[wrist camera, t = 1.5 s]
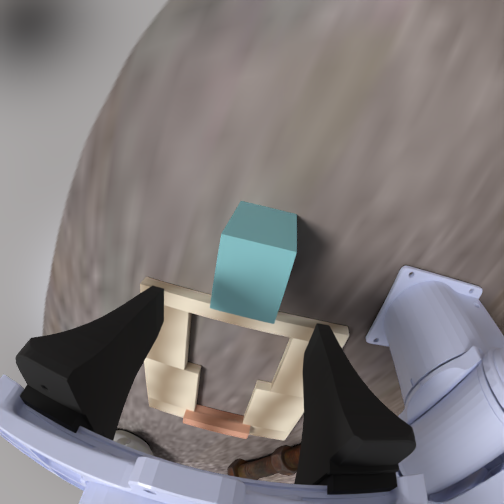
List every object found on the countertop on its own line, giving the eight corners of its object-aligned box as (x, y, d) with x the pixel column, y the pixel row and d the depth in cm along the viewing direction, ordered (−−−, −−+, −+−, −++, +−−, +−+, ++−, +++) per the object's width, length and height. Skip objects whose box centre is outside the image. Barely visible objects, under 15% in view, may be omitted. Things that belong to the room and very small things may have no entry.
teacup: (153, 457, 46) (141, 488, 39) (104, 432, 45) (89, 463, 38) (169, 438, 39) (154, 478, 32) (109, 408, 38) (89, 446, 31)
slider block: (296, 214, 21) (296, 252, 15) (279, 273, 23) (274, 324, 18) (241, 200, 21) (221, 234, 15) (229, 261, 23) (209, 308, 18)
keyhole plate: (347, 326, 24) (351, 346, 22) (285, 433, 33) (283, 448, 31) (146, 276, 25) (133, 292, 23) (152, 399, 34) (146, 413, 32)
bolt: (314, 431, 36) (246, 457, 42) (292, 435, 33) (223, 461, 39) (327, 465, 32) (255, 486, 38) (306, 473, 29) (233, 491, 35)
